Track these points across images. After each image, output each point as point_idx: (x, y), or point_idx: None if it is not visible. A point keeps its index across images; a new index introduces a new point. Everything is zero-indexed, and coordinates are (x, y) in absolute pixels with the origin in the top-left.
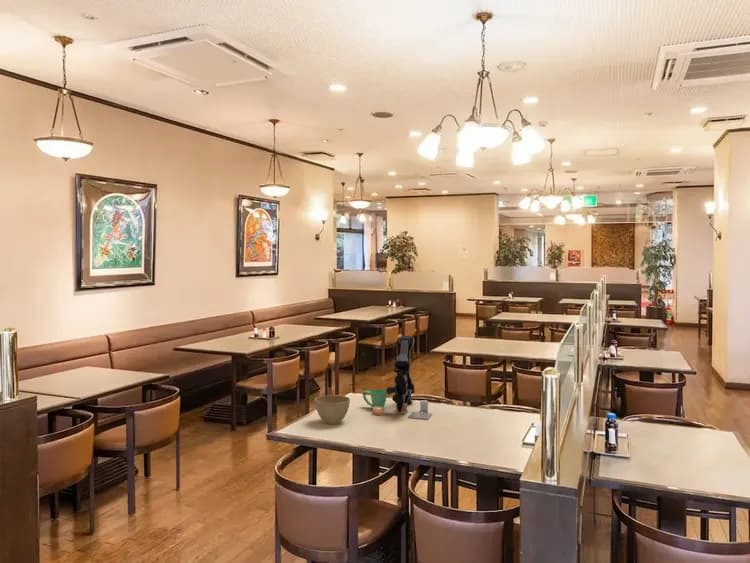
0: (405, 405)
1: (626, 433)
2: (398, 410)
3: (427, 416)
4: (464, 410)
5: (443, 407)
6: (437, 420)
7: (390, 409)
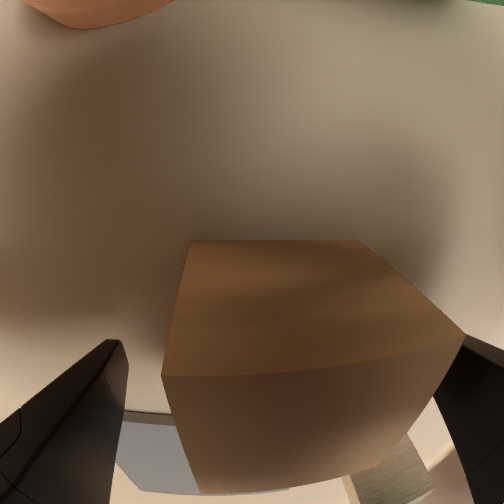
0: (240, 492)
1: None
2: (89, 358)
3: (195, 491)
4: None
5: (439, 444)
6: (164, 500)
7: (448, 94)
